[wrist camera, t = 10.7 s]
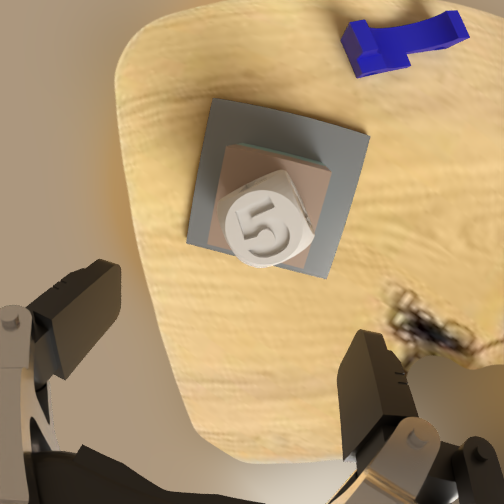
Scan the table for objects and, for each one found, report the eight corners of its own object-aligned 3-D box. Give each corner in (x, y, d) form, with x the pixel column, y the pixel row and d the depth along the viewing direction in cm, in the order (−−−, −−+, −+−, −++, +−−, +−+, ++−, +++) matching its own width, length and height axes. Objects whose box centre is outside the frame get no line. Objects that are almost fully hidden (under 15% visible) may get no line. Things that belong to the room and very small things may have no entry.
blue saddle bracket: (356, 78, 27) (369, 67, 21) (340, 40, 25) (349, 22, 20) (449, 61, 24) (475, 51, 18) (434, 25, 22) (457, 10, 17)
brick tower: (368, 136, 28) (395, 137, 20) (325, 275, 35) (333, 319, 26) (215, 98, 29) (186, 87, 21) (189, 240, 35) (158, 274, 27)
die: (285, 165, 22) (283, 173, 17) (313, 225, 23) (318, 248, 19) (225, 193, 23) (208, 209, 19) (255, 250, 25) (245, 277, 20)
